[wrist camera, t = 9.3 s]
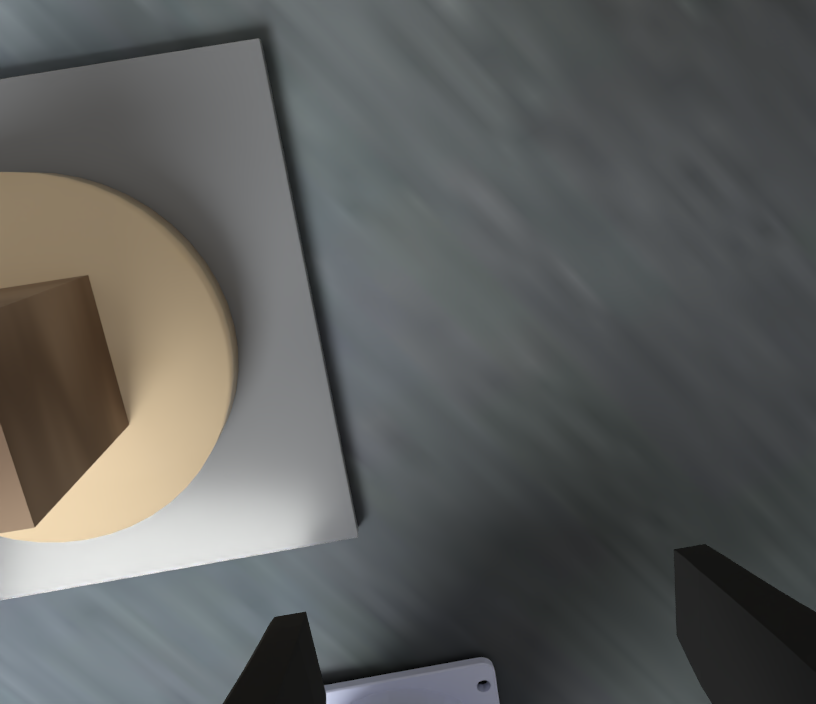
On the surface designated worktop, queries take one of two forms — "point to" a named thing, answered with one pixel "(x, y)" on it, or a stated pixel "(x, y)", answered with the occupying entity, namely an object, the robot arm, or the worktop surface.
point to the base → (264, 270)
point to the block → (52, 396)
